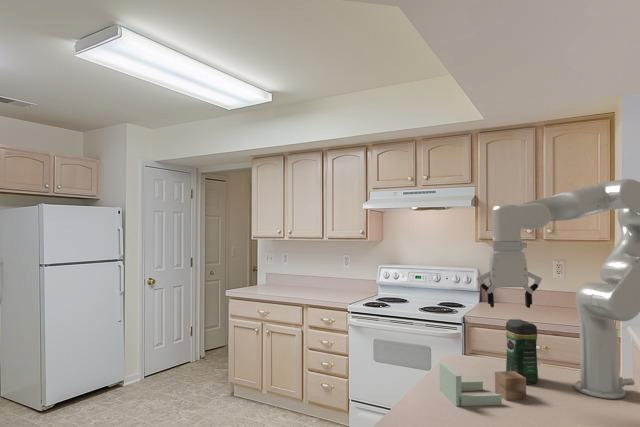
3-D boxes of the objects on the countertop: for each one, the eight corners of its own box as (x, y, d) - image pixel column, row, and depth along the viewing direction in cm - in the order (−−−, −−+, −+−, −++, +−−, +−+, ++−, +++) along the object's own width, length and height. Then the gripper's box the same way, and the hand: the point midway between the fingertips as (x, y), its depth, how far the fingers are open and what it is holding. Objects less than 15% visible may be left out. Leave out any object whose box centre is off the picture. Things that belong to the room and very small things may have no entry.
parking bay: (481, 388, 132) (481, 361, 132) (501, 404, 120) (501, 374, 120) (439, 390, 131) (439, 362, 131) (456, 406, 119) (456, 375, 119)
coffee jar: (542, 384, 136) (541, 323, 137) (518, 385, 135) (517, 323, 136) (525, 374, 146) (524, 317, 146) (502, 374, 145) (501, 317, 146)
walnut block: (514, 392, 130) (514, 371, 130) (526, 399, 124) (525, 378, 124) (495, 392, 129) (494, 371, 129) (505, 400, 123) (505, 378, 123)
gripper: (536, 246, 130) (539, 305, 129) (474, 247, 134) (476, 304, 134) (542, 247, 123) (545, 309, 122) (476, 248, 127) (479, 308, 126)
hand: (509, 306), depth 128 cm, fingers open, 9 cm apart
